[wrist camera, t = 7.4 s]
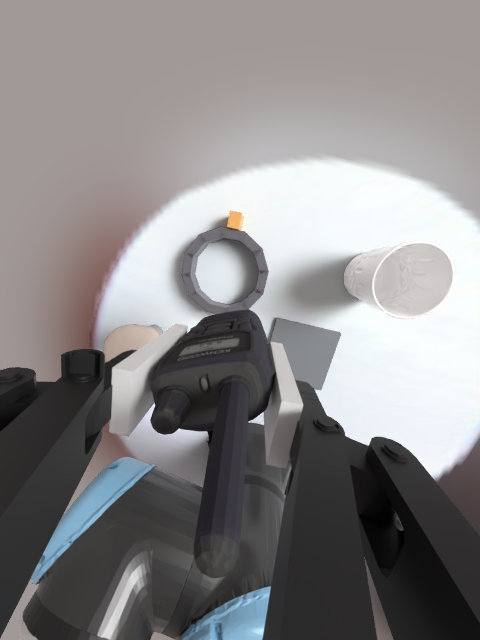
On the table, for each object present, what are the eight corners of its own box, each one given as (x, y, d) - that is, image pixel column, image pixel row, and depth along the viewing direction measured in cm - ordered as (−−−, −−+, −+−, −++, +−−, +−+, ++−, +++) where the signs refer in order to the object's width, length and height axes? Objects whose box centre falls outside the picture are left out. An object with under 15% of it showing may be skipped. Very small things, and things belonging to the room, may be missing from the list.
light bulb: (176, 314, 36) (142, 335, 26) (176, 352, 38) (144, 387, 27) (137, 310, 37) (87, 329, 26) (138, 348, 38) (92, 380, 28)
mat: (320, 388, 38) (321, 390, 37) (261, 374, 38) (261, 375, 37) (339, 332, 35) (341, 333, 34) (276, 317, 35) (276, 318, 35)
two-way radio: (261, 303, 18) (315, 487, 3) (270, 356, 18) (346, 692, 4) (192, 315, 18) (-56, 529, 3) (204, 366, 19) (55, 702, 4)
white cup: (382, 309, 34) (432, 327, 24) (330, 295, 34) (359, 308, 24) (405, 255, 32) (470, 252, 22) (350, 241, 32) (391, 231, 22)
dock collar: (256, 318, 36) (255, 323, 33) (182, 301, 36) (176, 305, 33) (279, 225, 32) (281, 221, 29) (197, 207, 32) (191, 201, 29)
